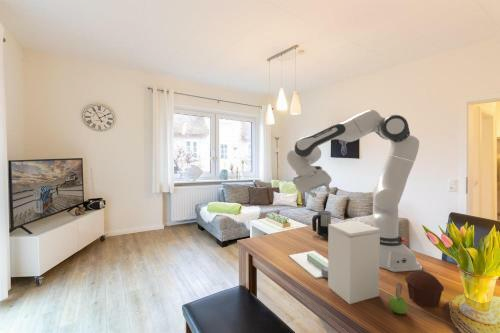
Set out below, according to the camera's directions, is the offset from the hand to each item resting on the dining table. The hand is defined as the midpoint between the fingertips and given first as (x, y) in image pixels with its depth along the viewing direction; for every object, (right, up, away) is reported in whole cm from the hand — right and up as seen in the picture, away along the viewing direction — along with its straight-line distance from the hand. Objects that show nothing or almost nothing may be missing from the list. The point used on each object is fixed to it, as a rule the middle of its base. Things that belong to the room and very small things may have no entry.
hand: (322, 193), depth 118 cm
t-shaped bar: (-3, -34, -6) cm, 35 cm away
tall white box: (+4, -36, -25) cm, 44 cm away
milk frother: (+14, -32, +38) cm, 52 cm away
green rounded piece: (+14, -36, -38) cm, 54 cm away
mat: (-4, -34, -1) cm, 35 cm away
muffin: (+28, -36, -31) cm, 55 cm away
